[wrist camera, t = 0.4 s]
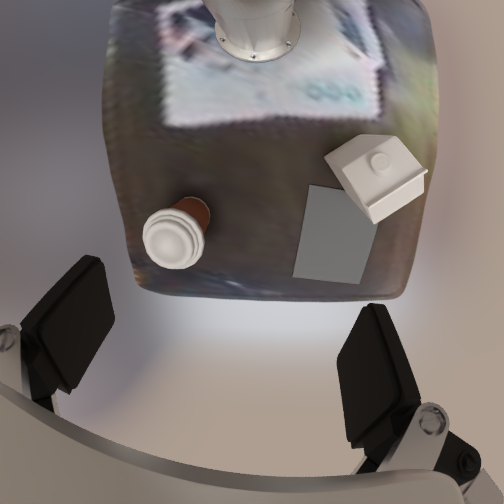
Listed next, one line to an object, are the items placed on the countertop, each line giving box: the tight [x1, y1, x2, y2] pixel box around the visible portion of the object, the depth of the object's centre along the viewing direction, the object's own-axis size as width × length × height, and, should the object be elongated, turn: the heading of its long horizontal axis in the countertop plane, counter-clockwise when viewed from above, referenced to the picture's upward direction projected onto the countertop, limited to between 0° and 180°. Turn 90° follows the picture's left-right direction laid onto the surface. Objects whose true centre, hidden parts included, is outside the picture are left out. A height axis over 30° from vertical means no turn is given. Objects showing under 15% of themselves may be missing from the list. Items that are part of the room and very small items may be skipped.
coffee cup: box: [143, 197, 211, 269], centre depth 40 cm, size 9×9×12 cm
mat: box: [292, 184, 378, 284], centre depth 45 cm, size 17×13×1 cm
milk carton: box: [324, 134, 428, 224], centre depth 30 cm, size 7×7×19 cm
